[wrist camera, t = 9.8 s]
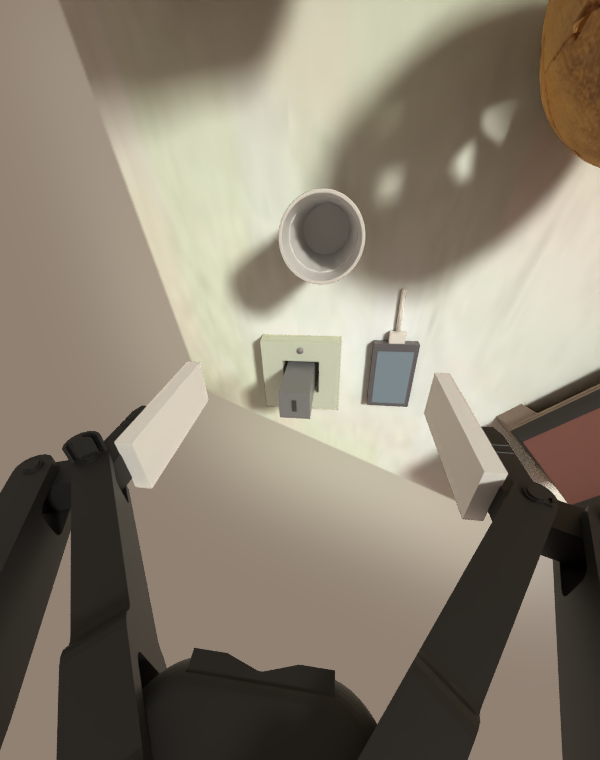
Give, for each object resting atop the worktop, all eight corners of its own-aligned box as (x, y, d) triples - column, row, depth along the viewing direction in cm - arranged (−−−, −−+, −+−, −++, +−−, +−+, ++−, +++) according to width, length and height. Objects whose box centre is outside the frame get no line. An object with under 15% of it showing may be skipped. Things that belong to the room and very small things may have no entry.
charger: (289, 357, 48) (277, 392, 39) (315, 358, 47) (309, 394, 38) (290, 380, 50) (279, 417, 41) (315, 381, 49) (309, 419, 41)
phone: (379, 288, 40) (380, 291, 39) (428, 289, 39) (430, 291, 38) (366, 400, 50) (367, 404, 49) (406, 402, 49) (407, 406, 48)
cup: (332, 274, 40) (328, 300, 30) (283, 237, 38) (262, 250, 28) (372, 220, 36) (384, 228, 26) (320, 175, 34) (311, 165, 24)
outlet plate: (263, 334, 46) (259, 341, 44) (341, 336, 44) (341, 343, 42) (269, 397, 52) (266, 406, 50) (338, 401, 51) (337, 410, 49)
